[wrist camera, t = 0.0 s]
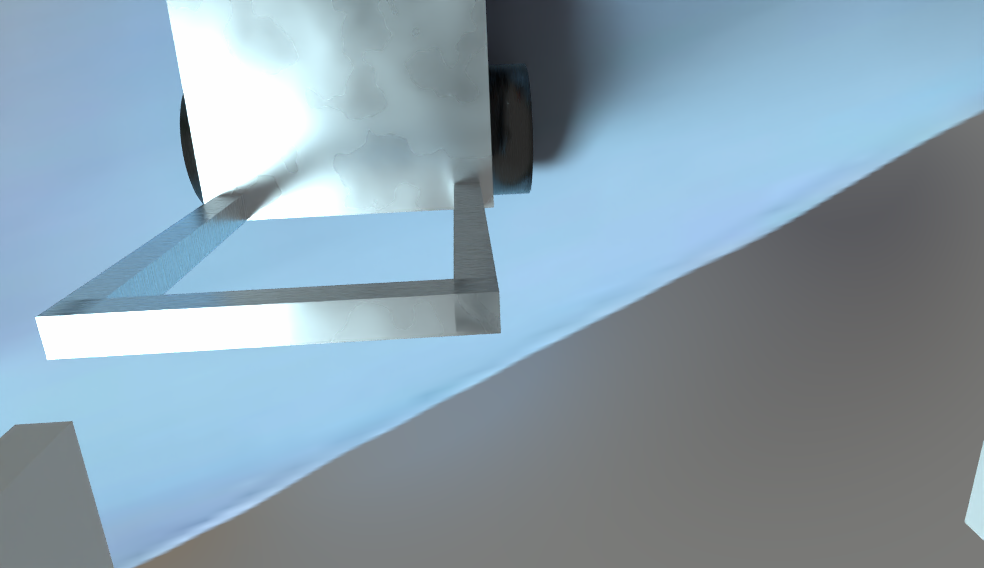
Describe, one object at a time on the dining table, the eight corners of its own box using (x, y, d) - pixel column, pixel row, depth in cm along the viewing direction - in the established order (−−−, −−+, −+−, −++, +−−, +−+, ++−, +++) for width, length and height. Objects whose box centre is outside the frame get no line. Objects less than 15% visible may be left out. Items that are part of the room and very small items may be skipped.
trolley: (172, -187, 30) (-433, -664, 10) (512, -197, 31) (631, -670, 10) (236, 193, 36) (-55, 405, 15) (521, 179, 37) (610, 366, 16)
